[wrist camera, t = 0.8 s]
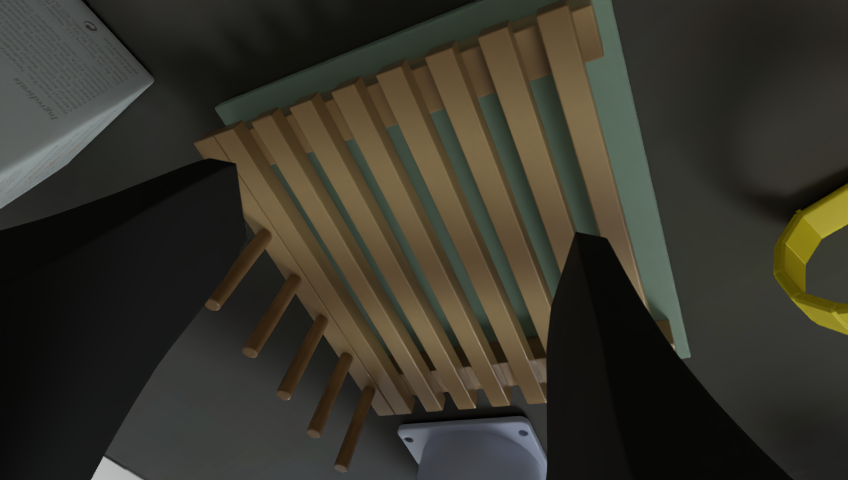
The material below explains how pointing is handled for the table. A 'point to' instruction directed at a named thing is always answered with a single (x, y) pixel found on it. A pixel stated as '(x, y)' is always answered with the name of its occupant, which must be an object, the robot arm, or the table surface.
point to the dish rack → (444, 201)
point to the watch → (798, 249)
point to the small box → (57, 87)
